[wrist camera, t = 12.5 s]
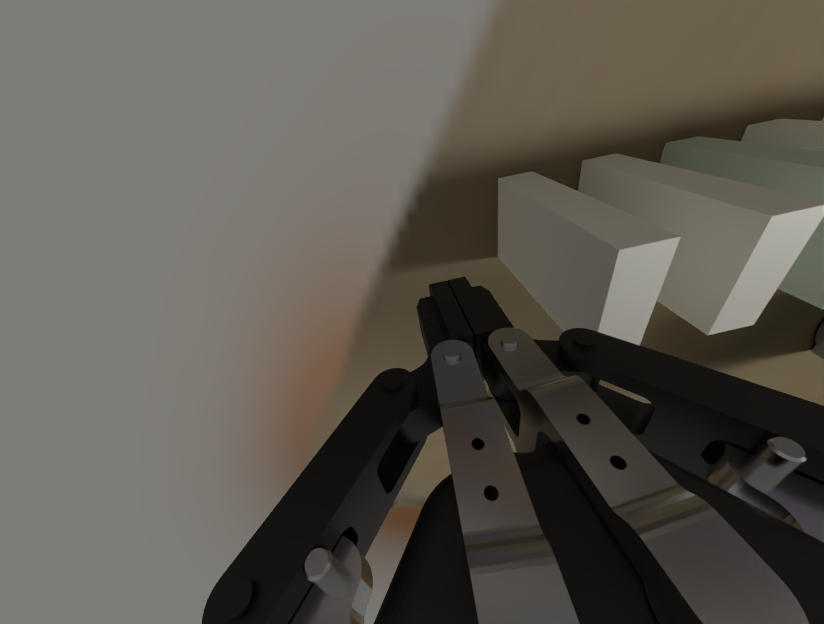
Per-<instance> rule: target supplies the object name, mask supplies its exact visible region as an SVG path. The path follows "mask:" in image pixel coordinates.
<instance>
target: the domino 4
mask: <svg viewBox="0 0 824 624" xmlns="http://www.w3.org/2000/svg"><path fill="white" fill-rule="evenodd" d="M741 141H742V142H750V143H758V144H766V145H774V146H782V147H790V148H798V149H806V150H814V151H822V152H824V121H814V120H796V119H775V120H771V121H766V122H761V123H756V124H752V125H747V128H746V130H745V132H744V135H743V137H742V140H741Z"/></svg>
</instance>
